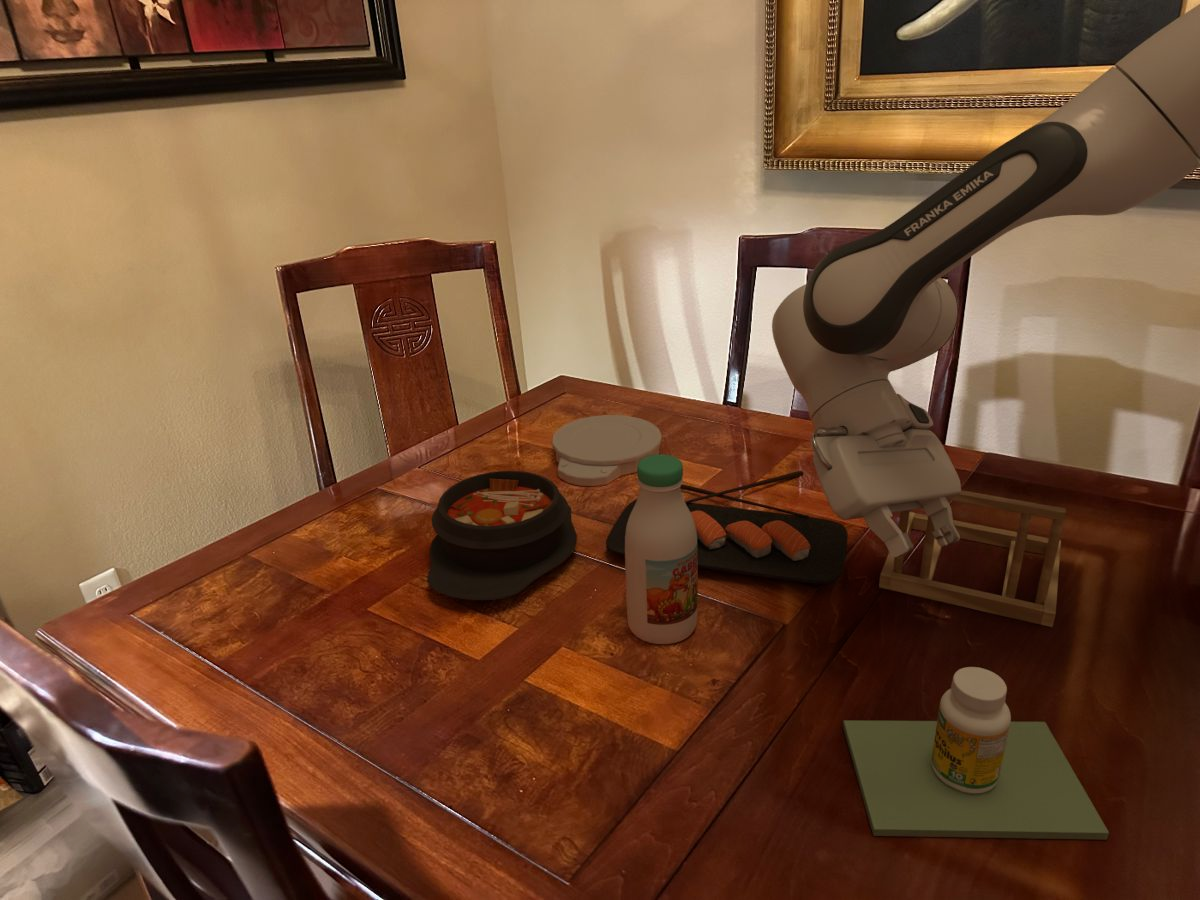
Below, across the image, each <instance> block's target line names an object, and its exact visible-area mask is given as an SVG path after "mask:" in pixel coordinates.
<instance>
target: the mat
mask: <svg viewBox="0 0 1200 900" xmlns="http://www.w3.org/2000/svg"><path fill="white" fill-rule="evenodd" d="M936 727H937V720H860V719H859V720H857V719H856V720H848V719H846V720H843V722H842V728H843V732H844V736H845V740H846V742H847V746H848V750H849V754H850V757H851V761H852V765H853V768H854V772H855V775H856V779H857V783H858V785H859V789H860V793H861V796H862V800H863V804H864V808H865V811H866V814H867V818H868V823H869V826H870V830H871V833H872V836H873V837H914V838H915V837H916V838H917V837H921V838H974V839H975V838H976V839H977V838H980V839H983V838H984V839H1036V840H1037V839H1042V840H1043V839H1044V840H1046V839H1047V840H1093V841H1094V840H1099V841H1101V840H1102V841H1103V840H1104V841H1107V840H1108V839H1109V835H1110V832H1109V829H1108V828H1107V826H1106V825H1105V823H1104V821H1103V820H1102V818H1101V816H1100V815H1099V813H1098V811H1097V809H1096V808H1095V806H1094V804H1093V802H1092V800H1091V798H1090V797H1089V796H1088V793H1087V792H1086V790H1085V788H1084V787H1083V785H1082V783H1081V781H1080V779H1078V776H1077V775H1076V773H1075V771H1074V769H1073V768H1072V766H1071V764H1070V762H1069V761H1068V759H1067V757H1066V756H1065V754H1064V752H1063V751H1062V749H1061V747H1060V745H1059V743H1058V742H1057V740H1056V738H1055V736H1054V735H1053V733H1052V731H1051V729H1050V728H1049V726H1048V724H1047V722H1045V721H1011V723H1010V728H1009V733H1008V737H1007V742H1006V747H1005V752H1004V757H1003V762H1002V767H1001V772H1000V776H999V780H998V782H997V784H996V785H995V786H994V787H993V788H992V789H991V790H989V791H986V792H983V793H976V794H974V793H966V792H962V791H959V790H957V789H955V788H953V787H951V786H949V785H947V784H945V783H944V782H943V781H942V780H941V779H940V778H939V777H938V776H937V775H936V773H935V772H934V770H933V767H932V764H931V759H932V750H933V745H934V738H935V732H936Z"/></svg>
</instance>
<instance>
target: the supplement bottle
mask: <svg viewBox="0 0 1200 900" xmlns="http://www.w3.org/2000/svg"><path fill="white" fill-rule="evenodd" d="M1007 693H1008V687H1007V684H1006V682H1005V681H1004V679H1002V677H1001V676H1000V675H998V674H996V673H995V672H993V671H991V670H989V669H986V668H982V667H978V666H977V667H976V666H966V667H962V668H959V669H957V671H956V672H955V673H954V674H953V676H952V681H951V684H950V688H949V689H948V690H946V691H945V692H944V693H943V695H942V696H941V698H940V701H939V706H938V713H937V714H938V715H937V719H936V721H937V727H936V732H935V738H934V745H933V750H932V759H931V764H932V767H933V770H934V772H935V773H936V775H937V776H938V777H939V778H940V779H941V780H942V781H943V782H944V783H945V784H947V785H949V786H951V787H953V788H955V789H957V790H959V791H962V792H966V793H974V794H976V793H983V792H986V791H989V790H991V789H992V788H993V787H994V786H995V785H996V784H997V782H998V780H999V776H1000V772H1001V767H1002V762H1003V757H1004V752H1005V747H1006V742H1007V737H1008V733H1009V728H1010V723H1011V722H1012V721H1011V720H1012V716H1011V715H1012V714H1011V710H1010V708H1009V706H1008V705H1007V703H1006V699H1007V698H1006V697H1007Z"/></svg>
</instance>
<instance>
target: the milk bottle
mask: <svg viewBox="0 0 1200 900" xmlns="http://www.w3.org/2000/svg"><path fill="white" fill-rule="evenodd" d="M636 474H637V481H636V482H637V484H638V486H639V492H638V496H637V498H636V500H637V501H636V504H635V506H634V508H633V510H632V512H631V514H630V516H629V519H628V522H627V527H626V534H625V556H624V565H625V566H624V568H625V570H624V572H625V597H626V619H627V625H628V628H629V629H630V631H631V633H632V634H633V635H634V636H636V638H637V639H640V640H642V641H643V642H647V643H649V644H654V645H672V644H676V643H679V642H681V641H683V640H685V639H687V638H688V637H690V636H691V635H692V633H693V632H694V631H695V629H696V627H697V624H698V599H699V598H698V596H699V595H698V593H699V592H698V588H699V586H698V585H699V583H698V582H699V581H698V580H699V577H698V576H699V573H698V572H699V571H698V570H699V567H698V549H697V533H696V527H695V523H694V520H693V517H692V515H691V513H690V511H689V509H688V507H687V505H686V503H685V501H686V500H685V499H684V496H683V493H682V489H681V487H680V486H681V485H682V484H684V483H683V482H684V479H683V477H684V465H683V462H682V461H681V460H680V459H679V458H678V457H676V456H674V455H670V454H661V453H659V454H657V455H650V456H647V457H645V458H643V459H641V460H640V461H639V462H638V465H637V472H636Z"/></svg>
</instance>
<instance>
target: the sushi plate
mask: <svg viewBox="0 0 1200 900" xmlns="http://www.w3.org/2000/svg"><path fill="white" fill-rule="evenodd" d="M803 475H804V471H802V470H796V471H793V472H790V473H785V474H782V475H778V476H775V477H771V478H766V479H763V480H760V481H755V482H752V483H748V484H745V485H742V486H738V487H734V488H730V489H726V490H723V491H719V492H715V491H711V490H709V489H708V490H707V489H703V488H700V487H695V486H692V485H687V484H684V483H682V485H681V486H680V487H681V490H684V491H689V492H693V493H697V494H702V495H703V496H700V497H696V498H692V499H688V500H684V501H685V503H686V505H687V507H688V509H689V511H690V513H691V515H692V517H693V520H694V523H695V527H696V533H697V549H698V569H699V568H700V569H706V570H713V571H720V572H725V573H726V572H727V573H728V572H729V573H734V574H740V575H748V576H755V577H761V578H769V579H775V580H782V581H790V582H796V583H797V582H798V583H806V584H815V585H817V584H819V585H824V584H826V585H827V584H832V583H834V582H836V581H838V580H839V579H840V577H841V576H842V574H843V571H844V567H845V563H846V557H847V550H848V539H849V538H848V529H847V528H846V526H845V525H844V524H842V523H840V522H837V521H834V520H831V519H827V518H821V517H812V516H810V515H807V514H805V513H800V512H795V511H792V510H787V509H783V508H779V507H775V506H772V505H767V504H764V503H759V502H755V501H751V500H747V499H742V498H738V497H735V496H730V495H727V494H731V493H735V492H739V491H743V490H744V491H745V490H747V489H752V488H756V487H761V486H764V485H769V484H773V483H777V482H778V483H779V482H782V481H786V480H790V479H793V478H798V477H802V476H803ZM714 497H715V498H721V499H725V500H729V501H733V502H737V503H738V502H739V503H742V504H747V505H750V506H755V507H758V508H764V509H768V510H772V512H771V511H765V510H756V509H748V508H741V507H733V506H732V507H731V506H724V505H715V504H707V503H706V504H705V503H698V502H699V501H703V500H706V499H710V498H714ZM636 501H637V499H634V500H633V501H630V503H628V504H627V505H626V506H625V508H624V509H623V510H622V512H621V513H620V515H619V516H618V518H617V519H616V521H615V523H614V524H613V526H612V527H611V529H610V532H609V533H608V535H607V538H606V541H605V547H606V549H607V551H608V552H611V553H612V554H615V555H617V556H618V555H619V556H622V557H625V534H626V527H627V522H628V519H629V516H630V514H631V512H632V510H633V508H634V506H635V504H636ZM773 511H776V512H773Z"/></svg>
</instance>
